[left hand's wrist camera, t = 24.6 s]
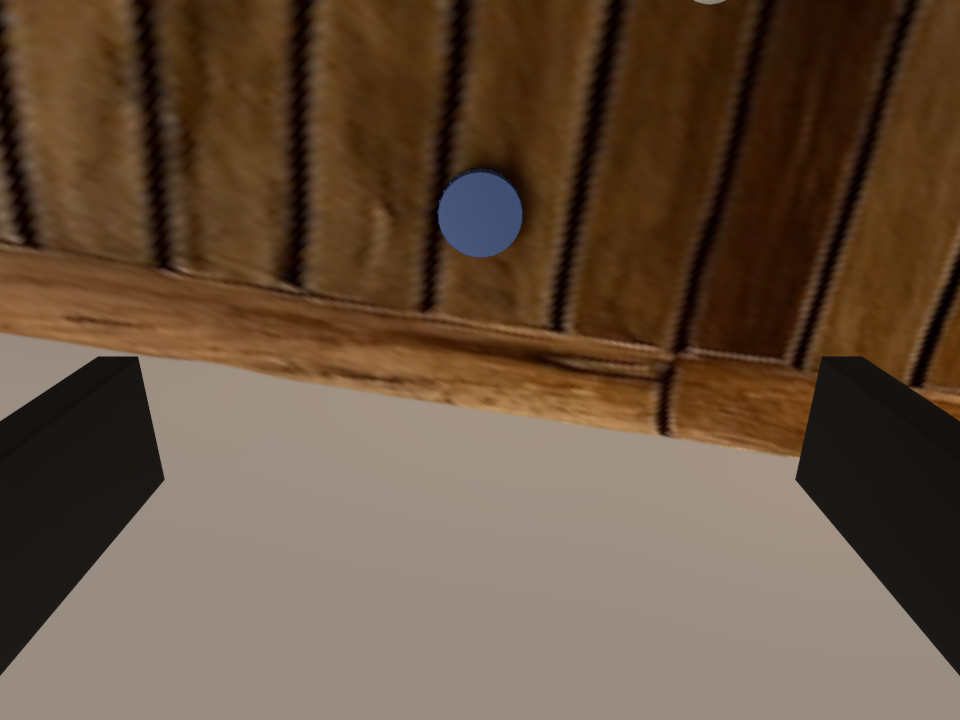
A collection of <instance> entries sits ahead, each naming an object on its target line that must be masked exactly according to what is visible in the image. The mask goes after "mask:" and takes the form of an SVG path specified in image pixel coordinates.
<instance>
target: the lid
mask: <svg viewBox="0 0 960 720" xmlns="http://www.w3.org/2000/svg"><path fill="white" fill-rule="evenodd" d="M443 192H444V194H443V196H442V197H441V198H440V200H439V202H440V205H439V209H438V212H437V213H438V217H439V222H438V223H439V224H440V228H441V231H442V234H443V235H444V237H445V238H446V240H447V241H448V243H449V244H450V245H451V246H453V247H454V248H455V249H456V250H458V251H459V252H461V253H463V254H466V255H468V256H473V257H488V256H492V255H495V254H498V253H500V252H502V251H503V250H505V249H506V248H507V247H508V246H509V245H510V244H511V243H512V242H513V241H514V240H515V238H516V237H517V235H518V233H519V230H520V228H521V224H522V222H523V221H522V212H523V209H522V205H521V202H522V201H521V198H520V196H519V197H518V194H517V189H516V187H514V186H513V185H512V184H511V182H510V179H509V178H508V179H507V178H505V177H504V176H503V175H502V174H501V173H497V172H495V171H492V169H490V170H489V169H481V167H479V169H472V170H471V169H469V170H468V171H465V172H463V173H459V175H458V176H457V177H455V178H454V179H451V181H450V184H449V185H448V186H447V188H446V187H445V189H444V191H443Z"/></svg>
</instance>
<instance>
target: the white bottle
mask: <svg viewBox="0 0 960 720" xmlns="http://www.w3.org/2000/svg"><path fill="white" fill-rule="evenodd" d="M695 1H697V2H699V3H703V4H716V3H720V2H723V1H725V0H695Z"/></svg>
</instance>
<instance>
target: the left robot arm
mask: <svg viewBox="0 0 960 720" xmlns="http://www.w3.org/2000/svg"><path fill="white" fill-rule="evenodd" d="M795 480H796V481H797V482H798V483H799V485H800V486H801V487H802V488H803V489H804V491H805V492H806V493H807V494H808V495H809V496H810V498H811V499H812V500H813V501H814V502H815V504H816V505H817V506H818V507H819V508H820V510H821V511H822V512H823V513H824V514H825V516H826V517H827V518H828V519H829V520H830V522H831V523H832V524H833V525H834V526H835V528H836V529H837V530H838V531H839V532H840V533H841V535H842V536H843V537H844V538H845V539H846V541H847V542H848V543H849V544H850V545H851V547H852V548H853V549H854V550H855V551H856V553H857V554H858V555H859V556H860V557H861V559H862V560H863V561H864V562H865V563H866V564H867V566H868V567H869V568H870V569H871V570H872V572H873V573H874V574H875V575H876V576H877V578H878V579H879V580H880V581H881V582H882V584H883V585H884V586H885V587H886V588H887V590H888V591H889V592H890V593H891V594H892V596H893V597H894V598H895V599H896V600H897V601H898V603H899V604H900V605H901V606H902V607H903V609H904V610H905V611H906V612H907V613H908V615H909V616H910V617H911V618H912V619H913V621H914V622H915V623H916V624H917V625H918V626H919V628H920V629H921V630H922V631H923V632H924V634H925V635H926V636H927V637H928V638H929V640H930V641H931V642H932V643H933V644H934V646H935V647H936V648H937V649H938V650H939V652H940V653H941V654H942V655H943V656H944V658H945V659H946V660H947V661H948V662H949V663H950V665H951V666H952V667H953V668H954V669H955V671H956V672H957V673H958V674H959V675H960V421H959V420H957V419H955V418H954V417H952V416H951V415H949V414H948V413H946V412H945V411H943V410H942V409H940V408H939V407H937V406H936V405H934V404H933V403H931V402H930V401H928V400H927V399H925V398H924V397H922V396H921V395H919V394H918V393H916V392H915V391H913V390H912V389H910V388H909V387H907V386H906V385H904V384H903V383H901V382H900V381H898V380H897V379H895V378H894V377H892V376H891V375H889V374H888V373H886V372H885V371H883V370H882V369H880V368H879V367H877V366H875V365H874V364H872V363H871V362H869V361H868V360H866V359H865V358H863V357H822V359H821V364H820V368H819V373H818V377H817V382H816V387H815V391H814V396H813V401H812V405H811V410H810V414H809V419H808V424H807V428H806V433H805V438H804V442H803V447H802V451H801V456H800V461H799V465H798V470H797V475H796V479H795ZM163 481H164V475H163V470H162V465H161V461H160V456H159V452H158V447H157V442H156V438H155V433H154V428H153V424H152V419H151V414H150V410H149V405H148V401H147V396H146V391H145V387H144V382H143V377H142V373H141V368H140V364H139V359H138V357H97V358H95V359H94V360H92V361H91V362H89V363H88V364H86V365H85V366H83V367H82V368H80V369H78V370H77V371H75V372H74V373H72V374H71V375H69V376H68V377H66V378H65V379H63V380H62V381H60V382H59V383H57V384H56V385H54V386H53V387H51V388H50V389H48V390H47V391H45V392H44V393H42V394H41V395H39V396H38V397H36V398H35V399H33V400H32V401H30V402H29V403H27V404H26V405H24V406H23V407H21V408H20V409H18V410H17V411H15V412H14V413H12V414H11V415H9V416H8V417H6V418H5V419H3V420H1V421H0V675H1V674H2V673H3V672H4V671H5V669H6V668H7V667H8V666H9V665H10V663H11V662H12V661H13V660H14V659H15V657H16V656H17V655H18V654H19V653H20V652H21V650H22V649H23V648H24V647H25V646H26V644H27V643H28V642H29V641H30V640H31V638H32V637H33V636H34V635H35V634H36V632H37V631H38V630H39V629H40V628H41V627H42V625H43V624H44V623H45V622H46V621H47V619H48V618H49V617H50V616H51V615H52V613H53V612H54V611H55V610H56V609H57V607H58V606H59V605H60V604H61V603H62V601H63V600H64V599H65V598H66V597H67V595H68V594H69V593H70V592H71V591H72V590H73V588H74V587H75V586H76V585H77V584H78V582H79V581H80V580H81V579H82V578H83V576H84V575H85V574H86V573H87V572H88V570H89V569H90V568H91V567H92V566H93V564H94V563H95V562H96V561H97V560H98V558H99V557H100V556H101V555H102V554H103V552H104V551H105V550H106V549H107V548H108V547H109V545H110V544H111V543H112V542H113V541H114V539H115V538H116V537H117V536H118V535H119V533H120V532H121V531H122V530H123V529H124V527H125V526H126V525H127V524H128V523H129V522H130V520H131V519H132V518H133V517H134V516H135V514H136V513H137V512H138V511H139V510H140V508H141V507H142V506H143V505H144V504H145V502H146V501H147V500H148V499H149V498H150V496H151V495H152V494H153V493H154V492H155V490H156V489H157V488H158V487H159V486H160V485H161V483H162V482H163Z"/></svg>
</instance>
